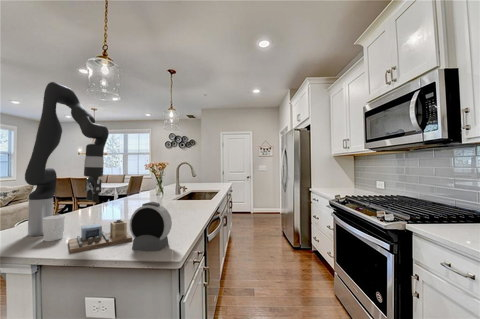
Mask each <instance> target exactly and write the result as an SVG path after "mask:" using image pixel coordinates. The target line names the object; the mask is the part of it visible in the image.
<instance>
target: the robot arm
mask: <svg viewBox="0 0 480 319" xmlns="http://www.w3.org/2000/svg"><path fill="white" fill-rule="evenodd" d="M57 104H60V105H65V106H67V108H69V109H71V110H70V116H71V117H72V119H73V120H74V121H75V122H76V123H77V124H78V126H79V129H80V131H81V133H82V135H83V136H84V137H85V138H88V139H93V140H94V143H88V144H87V145H86V147H85V158H84V165H83V166H84V168H83V176H84V177H86V178H85V188H84V191H85V192H86V200H87V201H92V203H98V202H99V196H100V195H99V194H100V193H101V192H102V179H100V177H103V176H104V164H105V163H104V150H105V147H106V143H107V140H108V139H109V129H108V128H107V126H106V125H103V124H97V123H96V120H95V118H94V117H93V115H92V114H91V113H90V112H89V111H88V110H87V109H86V108H85V107H84V105H83V104H82V102H81V100H80V99H79V97H78V96H77V94H76V93H75V91H74V90H73V89H71V88H70V87H67V86H65V85H63V84H60V83H58V82H55V81H50V82H48V84H46V86H45V89H44V93H43V103H42V110H41V115H40V120H39V124H38V128H37V132H36V136H35V142H34V144H33V148H32V153H31V156H30V159H29V162H28V164H27V167H26V169H25V171H24V172H25V173H24V181H25V182H26V183H27V185H29V186H32V187H33V186H36V188H35V189H34V191H32V192H30V193H29V194H28V209H27V210H28V212H27V213H28V214H27V215H28V216H27V218H28V219H27V236H29V237H37V236H38V237H39V236H44V235H43V218H44V217H49V216H54V195H55V194H56V189H57V188H56V187H57V172H56V170H55V169H54V168H53V167H51V166H47V162H48V160H49V158H50V156H51V154H52V153H53V152H54V151H55V150H56V148H57V147H58V146H59V145H60V142H61V138H62V135H63V128H62V125H61V122H60V119H59V116H58V114H57Z"/></svg>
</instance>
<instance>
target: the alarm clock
mask: <svg viewBox="0 0 480 319" xmlns="http://www.w3.org/2000/svg"><path fill="white" fill-rule="evenodd" d="M172 223H173V221H172V217H171V214H170V212H169V210H168V209H167V208H166V207H165V206H163V205H161V204H160V203H159V202H156V201H149V202H146V203H143V204H141V206H139V207H138V208H136V209H135V210H134V212H133V213H132V214H131V216H130V219H129V231H130V233H131V237H132V238H133V239H132V248H131V249H132V250H133V251H136V252H137V251H139V252H160V251H162V250H163V249H164V248H166V247H167V246H169V240H168V239H169V238H168V235H169V234H170V232H171V229H172Z"/></svg>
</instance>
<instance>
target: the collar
mask: <svg viewBox="0 0 480 319" xmlns="http://www.w3.org/2000/svg"><path fill="white" fill-rule="evenodd" d="M120 220H121V223H116V222H117V220H116V221H110V226H109V227H110V232H109V233H110V235H111V237H112V238H116V237H121V236H127V233H128V231H127V230H128V229H127V228H128V223H127V221H126V220H123V219H120Z"/></svg>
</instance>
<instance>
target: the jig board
mask: <svg viewBox="0 0 480 319" xmlns="http://www.w3.org/2000/svg"><path fill="white" fill-rule="evenodd" d="M121 220H122V219H116V221H117V222H116V223H121ZM67 242H68V243H67V244H68V249H69V254H74V253H78V252H84V251H89V250H93V249H94V250H95V249H99V248H103V247H109V246H113V245H118V244H123V243H128V242H133V236H132V235H130V234H129V233H128V232H127V236H121V237H116V238H112V237H111V235H110V232H106V233H105V232H104V231H102V238H100V237H99V236H98V235H96V236H90V237H85V241H82V238H81V236H80V235H77V236H76V237H74V238H70V239H68V241H67Z"/></svg>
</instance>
